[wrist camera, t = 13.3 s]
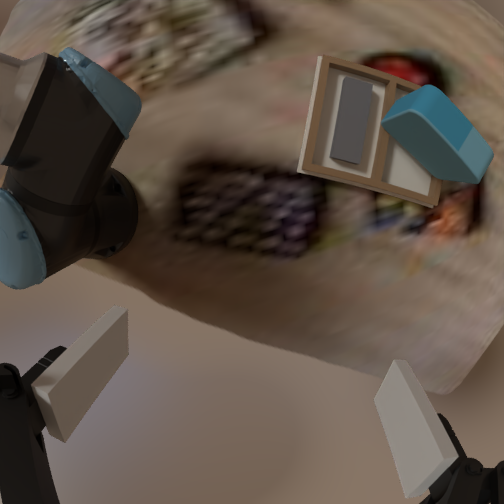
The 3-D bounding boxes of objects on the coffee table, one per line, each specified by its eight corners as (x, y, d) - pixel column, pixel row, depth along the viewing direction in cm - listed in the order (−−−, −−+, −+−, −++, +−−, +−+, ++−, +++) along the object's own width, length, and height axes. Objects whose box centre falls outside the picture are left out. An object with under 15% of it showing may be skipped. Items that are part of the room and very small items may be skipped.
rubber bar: (329, 157, 40) (331, 157, 38) (342, 80, 36) (345, 76, 35) (356, 164, 40) (359, 164, 38) (368, 87, 36) (372, 84, 34)
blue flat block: (450, 157, 36) (498, 157, 24) (435, 179, 37) (483, 185, 26) (393, 101, 35) (431, 80, 23) (376, 123, 36) (413, 108, 24)
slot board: (296, 172, 41) (298, 172, 39) (317, 57, 37) (320, 51, 34) (430, 207, 41) (439, 210, 38) (447, 102, 36) (455, 99, 33)
